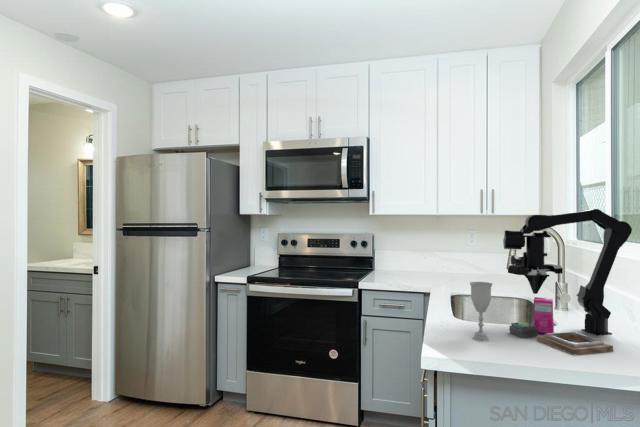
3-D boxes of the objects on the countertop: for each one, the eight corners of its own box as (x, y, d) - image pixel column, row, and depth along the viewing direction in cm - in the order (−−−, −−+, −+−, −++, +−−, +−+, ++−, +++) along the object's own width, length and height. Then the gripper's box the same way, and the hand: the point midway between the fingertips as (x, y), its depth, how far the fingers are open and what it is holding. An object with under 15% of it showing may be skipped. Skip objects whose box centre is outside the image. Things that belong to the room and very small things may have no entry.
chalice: (484, 344, 126) (484, 286, 126) (464, 338, 132) (464, 283, 132) (497, 340, 130) (497, 283, 131) (478, 335, 136) (478, 281, 136)
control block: (524, 331, 140) (524, 321, 140) (537, 336, 134) (537, 326, 134) (509, 333, 138) (509, 322, 138) (522, 338, 133) (522, 327, 133)
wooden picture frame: (572, 337, 134) (572, 329, 134) (613, 351, 120) (613, 342, 120) (537, 340, 130) (537, 332, 130) (574, 354, 117) (574, 346, 117)
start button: (524, 325, 138) (524, 322, 138) (531, 328, 135) (531, 324, 135) (515, 326, 137) (515, 322, 137) (522, 328, 134) (522, 325, 134)
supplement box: (534, 329, 143) (534, 296, 143) (554, 331, 140) (554, 298, 140) (533, 333, 138) (533, 299, 138) (553, 336, 135) (553, 301, 135)
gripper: (539, 247, 156) (539, 288, 156) (497, 248, 151) (497, 290, 151) (563, 250, 145) (563, 294, 145) (519, 251, 141) (519, 296, 141)
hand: (535, 293), depth 146 cm, fingers closed
